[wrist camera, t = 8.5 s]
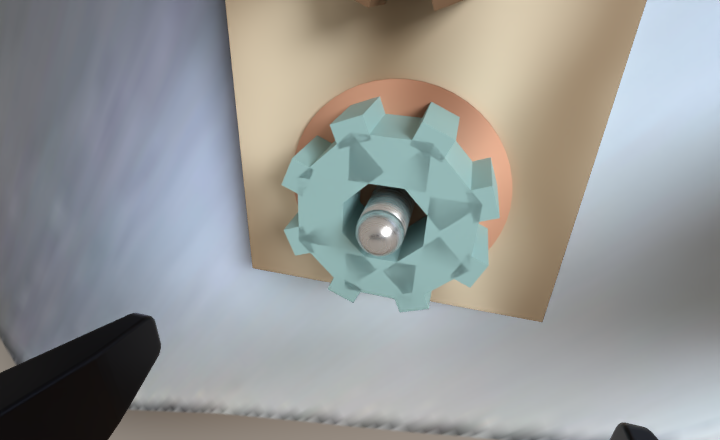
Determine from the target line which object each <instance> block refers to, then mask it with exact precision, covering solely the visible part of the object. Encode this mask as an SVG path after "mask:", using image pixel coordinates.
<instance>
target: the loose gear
mask: <svg viewBox="0 0 720 440" xmlns="http://www.w3.org/2000/svg"><path fill="white" fill-rule="evenodd" d="M459 119H460V117H458V116H457V115H455V114H453V113H451V112H449V111H448V110H446V109H444V108H442V107H440V106H438V105H437V104H435V103H433V102H431V103H430V105H429V107H428V108H427V110H426V112H425V114H424V115H423V117H422V118H419V117H410V116H402V115H393V114H385V111H384V108H383V105H382V102H381V98H380V96H379V97H375V98H372V99H369V100H366V101H363V102H359V103H356V104H353V105H351V106H349V107H348V108H347V109H346V110H345V111H344V112H343V113H342V114H341V115H340V116H339V117H337V118H336V119H335V120H334V121H333V122H332V123H331V124H330V127H331V130H332V133H333V135H334V138H335V141H334V142H333V143H331V142H329V141H327V140H325V139H323V138H321V137H320V136H318V135H317V136H316V137H315V138H314V139H313V140H311V141H310V142H309V143H308V144H307V145H306V146H305V147H304V148H303V149H302V150H301V151H299V152H298V153H297V154H296V155H295V156H294V157H293V158H292V160H291V162H290V165H289V167H288V170H287V172H286V175H285V177H284V180H283V182H282V184H281V185H283V186H284V187H286V188H288V189H290V190H292V191H294V192H295V193H297V194H298V213H297V214H296V215H295V216H294V218H293V219H292V220H291V221H290V223H289V224H288V225H287V226H286V228H285V229H284V232H285V234H286V236H287V239H288V241H289V243H290V245H291V247H292V249H293V252H294V254H295V256H296V255H301V254H307V253H311V254H312V255H313V256H314V257H315V258H316V259H317V260H318V261H319V263H320V264H321V265H322V266H323V267H324V268H325V269H326V270H327V271H328V272H329V273H330V274H331V275H332V276H333V277H334V278H333V279H332V281H331V283H330V285H329V287H328V290H330V291H332V292H334V293H336V294H338V295H339V296H341V297H343V298H345V299H347V300H349V301H351V302H352V303H354V301H355V299H356V298H357V296H358V295H359V293H360V292H363V293H368V294H373V295H378V296H383V297H388V298H393V299H395V301H396V304H397V306H398V309H399V312H407V311H416V310H424V309H429V304H430V298H431V292H432V290H434V289H436V288H438V287H440V286H442V285H444V284H446V283H447V282H449V281H451V280H453V279H455V280H457V281H459V282H460V283H462V284H464V285H466V286H468V287H471V286H472V285H473V284H474V283H475V281H476V280H477V279H478V278H479V277H480V275H481V274H482V273H483V272H484V271H485V269H486V268H487V267H488V266H489V259H488V228H486V227H484V226H482V225H480V224H479V222H481V221H487V220H492V219H498V218H500V214H499V201H498V187H497V182H496V178H495V173H494V169H493V165H492V160H491V157H490V158H485V159H481V160H477V161H473V162H472V160H471V159H470V158H469V157H468V155H467V154H466V153H465V151H464V150H463V149H462V148H461V146H460V145H459V144H458V143H457V141H456V137H457V131H458V125H459ZM367 184H375V185H381V186H388V187H395V188H402V189H405V190H406V191H407V192H408V193H409V195H410V196H411V197H412V198H413V199H414V201H415V202H416V203H417V204H418V205H419V206H420V208H421V209H422V210H423V211H424V212H425V213H426V216H425V217H423V218H421V219H420V220H418V221H417V222H415V223H414V224H412V225H411V226H409V227H408V228H407V231H406V234H405V238H404V241H403V243H402V245H401V246H400V247H399V249H398V250H396V251H395V252H394V253H392V254H390V255H387V256H381V257H379V256H373V255H371V254H368V253H367V252H365V251H364V250H363V249H362V248H361V247H360V245H359V243H358V241H357V239H356V225H357V222H358V220H359V218H360V216H361V214H362V212H363V210H364V208H365V207H364V206H363V205H362V203H361V202H360V190H361V189H362V188H363V187H365V186H366V185H367Z"/></svg>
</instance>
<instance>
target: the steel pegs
mask: <svg viewBox="0 0 720 440" xmlns="http://www.w3.org/2000/svg"><path fill="white" fill-rule="evenodd" d="M414 205H415V201H414V199H413V198H412V197H411V196H410V195H409V193H408V192H407V191H406V190H405V189H402V188H395V187H388V186H381V185H377V187H376V188H375V189H374V191H373V193H372V195H371V197H370V199H369V201H368V203H367V205H366V206H365V208H364V210H363V212H362V214H361V216H360V218H359V220H358V222H357V225H356V239H357V241H358V243H359V245H360V247H361V248H362V249H363V250H364V251H365V252H367V253H368V254H371V255H373V256H379V257H381V256H387V255H390V254H392V253H394V252H395V251H396V250H398V249H399V247H400V246H401V245H402V243H403V241H404V238H405V234H406V231H407V228H408V225H409V221H410V218H411V215H412V212H413V208H414Z"/></svg>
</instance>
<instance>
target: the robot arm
mask: <svg viewBox="0 0 720 440" xmlns="http://www.w3.org/2000/svg"><path fill="white" fill-rule="evenodd" d="M160 349H161V342H160V338H159V335H158V331H157V327H156V323H155V320H154V319H153V318H152V317H151V316H148V315H144V314H139V313H132V314H129V315H127V316H125V317H123V318H120V319H118V320H116V321H114V322H111V323H109V324H107V325H105V326H103V327H100V328H98V329H96V330H94V331H92V332H89V333H87V334H85V335H83V336H81V337H78V338H76V339H74V340H72V341H70V342H67V343H65V344H63V345H61V346H59V347H56V348H54V349H52V350H50V351H47V352H45V353H43V354H41V355H39V356H36V357H34V358H32V359H30V360H28V361H25V362H23V363H21V364H19V365H17V366H14V367H12V368H10V369H8V370H5V371H3V372H1V373H0V440H108V439H109V437H110V436H111V434H112V433H113V431H114V430H115V428H116V427H117V426H118V424H119V423H120V421H121V419H122V417H123V416H124V414H125V413H126V411H127V409H128V408H129V406H130V404H131V403H132V401H133V399H134V397H135V396H136V394H137V392H138V390H139V389H140V387H141V385H142V384H143V382H144V380H145V378H146V377H147V375H148V373H149V371H150V370H151V368H152V366H153V365H154V363H155V361H156V359H157V358H158V356H159V353H160ZM610 440H658V439H657V437H656V436H655V435H654V434H653V433H652V432H651V431H650V430H649V429H647V428H645V427H642V426H638V425H633V424H629V423H620V424H618V426H617V427H616V429H615V431H614V433H613V434H612V436H611V438H610Z"/></svg>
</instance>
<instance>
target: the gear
mask: <svg viewBox="0 0 720 440" xmlns="http://www.w3.org/2000/svg"><path fill="white" fill-rule="evenodd" d="M354 1H356V2H358V3H360V4H362V5H364V6H366V7H367V8H369V7H374V6H379V5H384V4H386V2H387V0H354ZM460 1H463V0H432V4H433V8H434V11H437V10H439V9H442V8H445V7H447V6H450V5H453V4H455V3H458V2H460Z"/></svg>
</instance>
